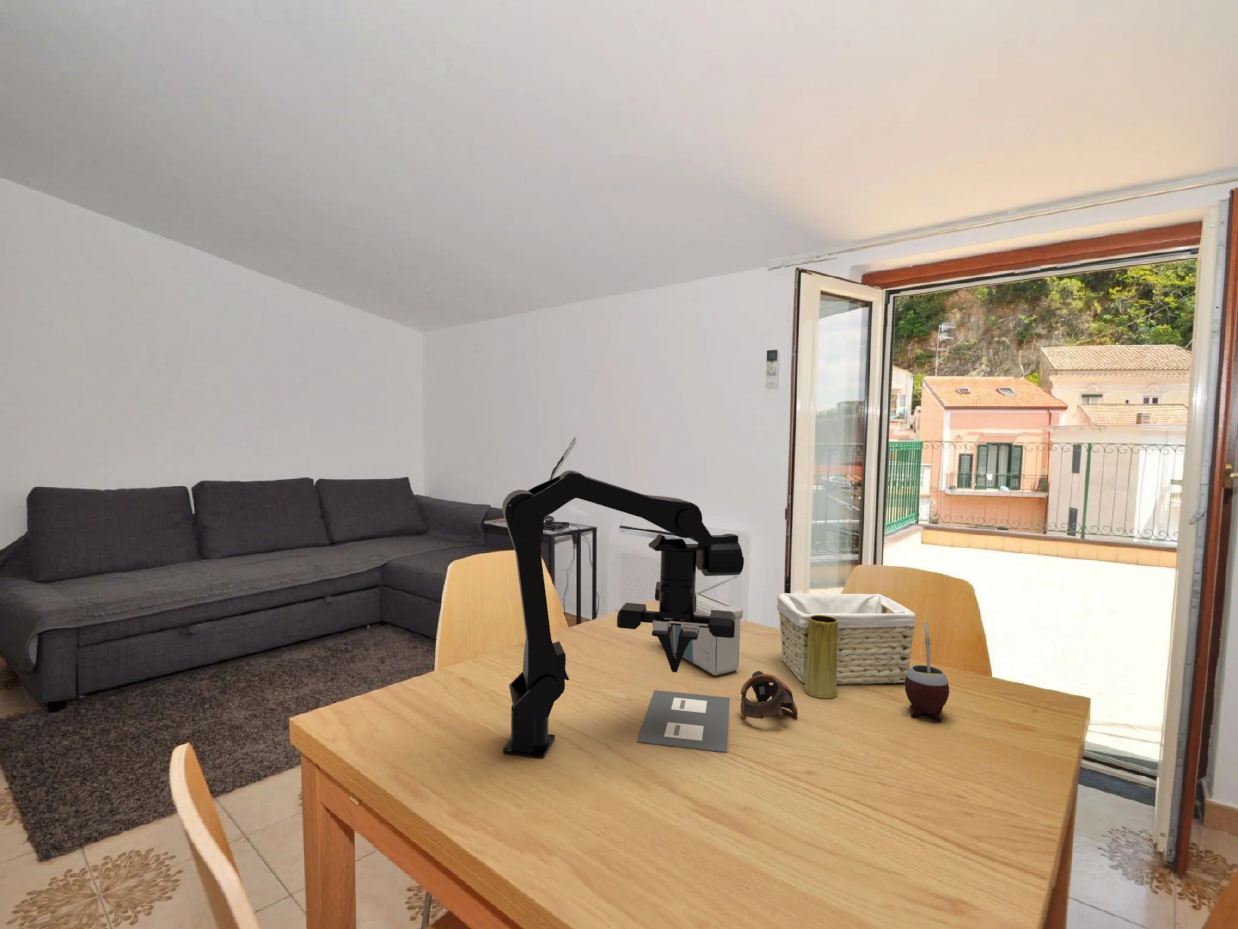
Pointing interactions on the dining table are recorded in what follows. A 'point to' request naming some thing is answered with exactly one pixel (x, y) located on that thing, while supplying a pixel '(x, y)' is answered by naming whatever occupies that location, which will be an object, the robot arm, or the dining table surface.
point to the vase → (821, 657)
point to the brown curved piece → (766, 697)
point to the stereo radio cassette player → (713, 638)
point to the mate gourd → (926, 688)
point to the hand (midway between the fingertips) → (674, 671)
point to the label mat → (686, 721)
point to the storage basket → (851, 635)
